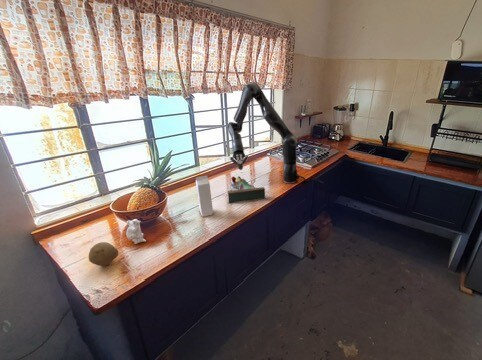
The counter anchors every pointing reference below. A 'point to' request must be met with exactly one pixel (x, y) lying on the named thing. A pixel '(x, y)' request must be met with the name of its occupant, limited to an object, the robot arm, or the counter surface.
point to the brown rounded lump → (102, 254)
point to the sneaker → (239, 184)
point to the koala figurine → (134, 231)
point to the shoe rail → (246, 194)
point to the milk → (204, 195)
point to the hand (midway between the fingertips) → (240, 169)
